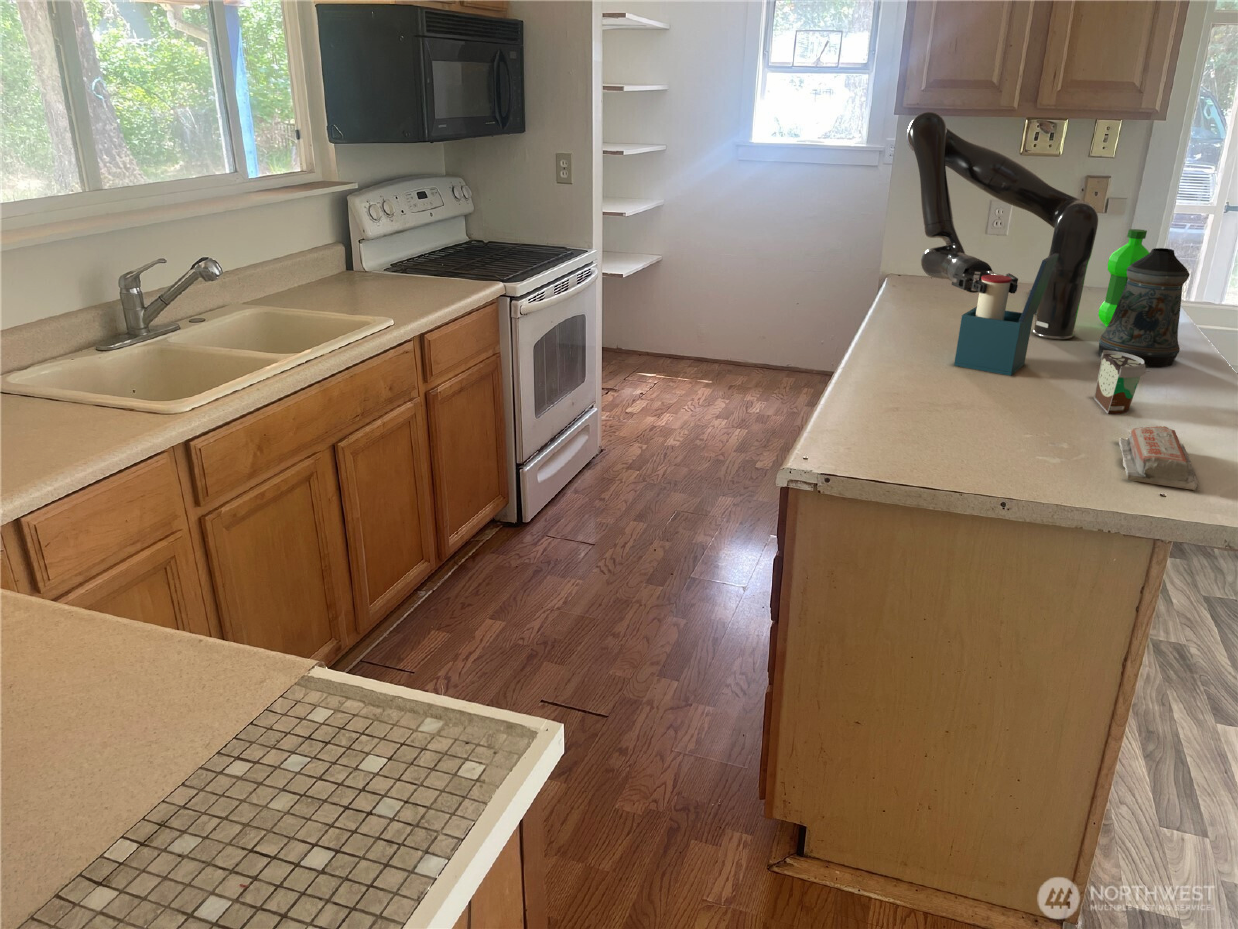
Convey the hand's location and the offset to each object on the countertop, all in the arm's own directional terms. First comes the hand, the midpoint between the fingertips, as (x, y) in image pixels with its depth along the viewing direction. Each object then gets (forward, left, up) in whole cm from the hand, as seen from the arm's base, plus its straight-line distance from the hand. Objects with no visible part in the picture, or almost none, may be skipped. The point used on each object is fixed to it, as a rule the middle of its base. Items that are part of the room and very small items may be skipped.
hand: (999, 288), depth 191 cm
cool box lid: (-2, +7, +1) cm, 7 cm away
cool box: (-2, 0, -18) cm, 18 cm away
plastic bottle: (-58, +16, -18) cm, 63 cm away
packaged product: (+40, +40, -18) cm, 60 cm away
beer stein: (-30, +25, -18) cm, 43 cm away
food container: (+12, +29, -18) cm, 36 cm away
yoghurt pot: (-2, -2, -8) cm, 8 cm away
